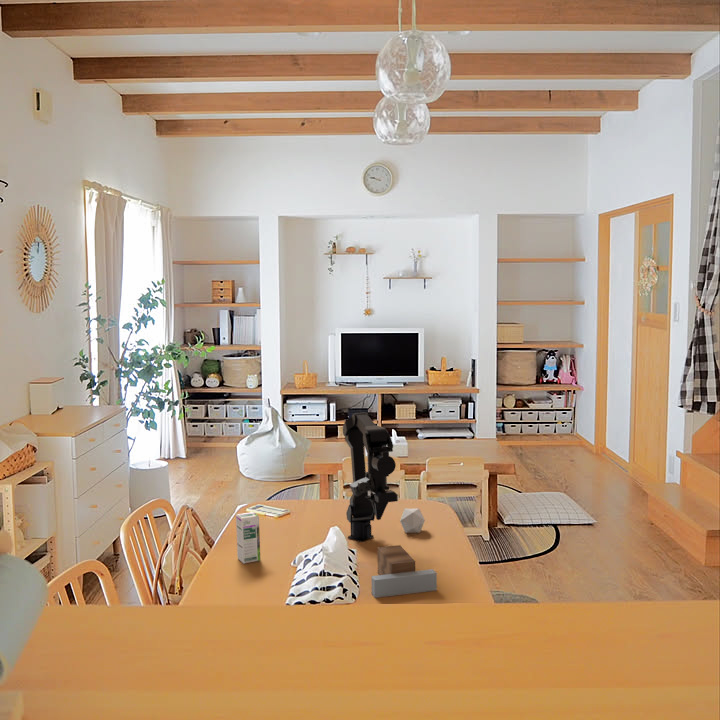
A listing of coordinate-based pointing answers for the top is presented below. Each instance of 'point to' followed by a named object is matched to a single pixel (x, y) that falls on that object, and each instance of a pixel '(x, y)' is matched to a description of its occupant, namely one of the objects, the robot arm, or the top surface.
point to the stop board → (404, 583)
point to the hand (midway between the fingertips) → (378, 519)
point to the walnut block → (394, 560)
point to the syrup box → (248, 537)
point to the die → (412, 520)
